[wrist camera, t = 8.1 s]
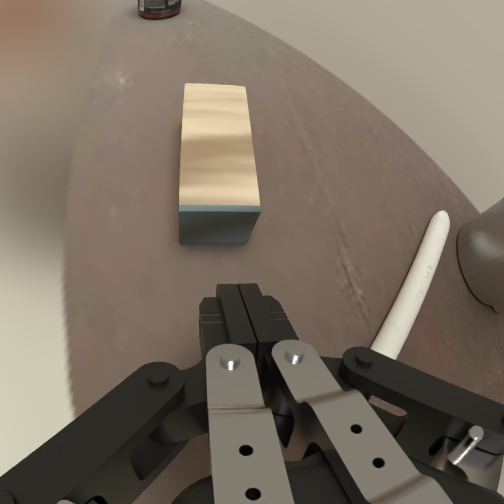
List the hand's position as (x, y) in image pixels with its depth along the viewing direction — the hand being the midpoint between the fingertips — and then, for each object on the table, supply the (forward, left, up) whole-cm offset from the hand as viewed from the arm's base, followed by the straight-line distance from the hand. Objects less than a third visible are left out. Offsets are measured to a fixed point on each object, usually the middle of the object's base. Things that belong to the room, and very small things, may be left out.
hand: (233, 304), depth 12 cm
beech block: (+4, -4, -5) cm, 8 cm away
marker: (-8, -14, -8) cm, 18 cm away
